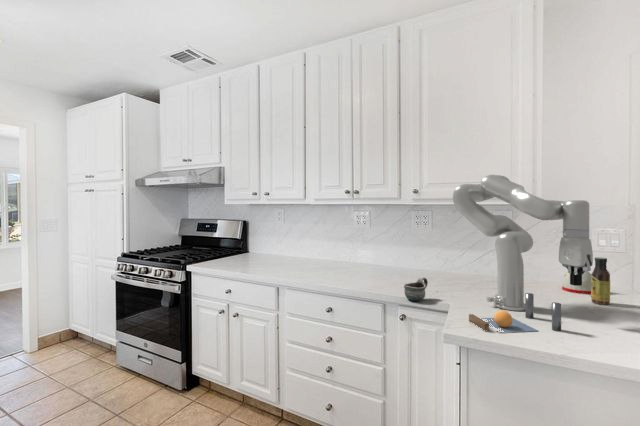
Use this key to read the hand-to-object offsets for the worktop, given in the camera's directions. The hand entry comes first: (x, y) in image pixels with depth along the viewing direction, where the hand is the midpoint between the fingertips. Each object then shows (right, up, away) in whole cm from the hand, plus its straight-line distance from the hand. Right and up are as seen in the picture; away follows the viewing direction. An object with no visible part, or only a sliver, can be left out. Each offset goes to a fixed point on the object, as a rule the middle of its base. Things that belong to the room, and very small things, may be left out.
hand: (575, 284), depth 117 cm
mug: (-49, -14, +31) cm, 59 cm away
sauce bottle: (+28, -13, +22) cm, 39 cm away
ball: (-29, -11, -4) cm, 31 cm away
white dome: (+37, -13, +44) cm, 59 cm away
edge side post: (-12, -14, -7) cm, 20 cm away
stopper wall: (-37, -14, -3) cm, 39 cm away
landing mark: (-27, -14, -2) cm, 30 cm away
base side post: (-13, -14, +5) cm, 20 cm away
